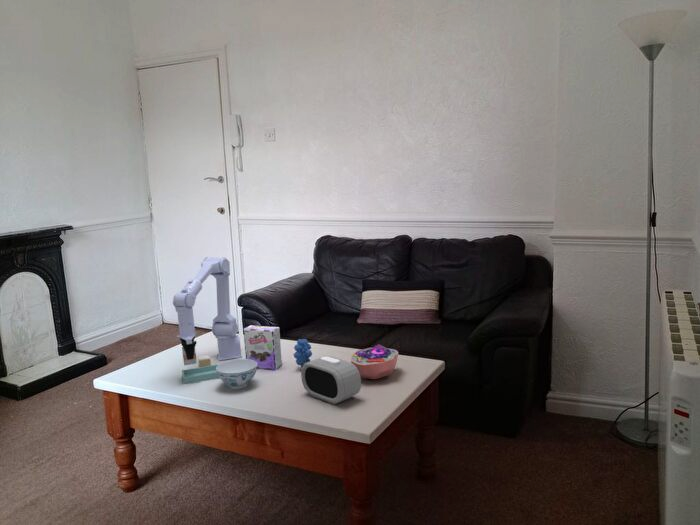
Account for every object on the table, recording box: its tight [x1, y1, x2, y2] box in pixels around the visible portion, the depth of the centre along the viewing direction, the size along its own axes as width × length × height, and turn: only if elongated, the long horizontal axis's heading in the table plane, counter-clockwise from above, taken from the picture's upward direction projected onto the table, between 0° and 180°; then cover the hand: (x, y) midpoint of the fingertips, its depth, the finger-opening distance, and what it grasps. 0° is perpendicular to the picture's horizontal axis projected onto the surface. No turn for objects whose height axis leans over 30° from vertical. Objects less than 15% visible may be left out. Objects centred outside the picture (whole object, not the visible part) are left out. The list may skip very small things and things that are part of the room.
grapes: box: [293, 338, 313, 368], centre depth 229 cm, size 12×7×12 cm, turn 155°
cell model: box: [350, 344, 399, 380], centre depth 215 cm, size 17×20×11 cm
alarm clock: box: [300, 355, 362, 405], centre depth 198 cm, size 21×10×13 cm, turn 45°
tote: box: [181, 363, 220, 385], centre depth 225 cm, size 15×9×2 cm, turn 110°
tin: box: [181, 346, 198, 366], centre depth 222 cm, size 5×5×6 cm
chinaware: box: [216, 358, 258, 390], centre depth 213 cm, size 15×15×8 cm
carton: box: [197, 354, 212, 368], centre depth 235 cm, size 5×5×5 cm
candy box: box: [242, 324, 283, 371], centre depth 232 cm, size 14×6×16 cm, turn 68°
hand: (189, 357), depth 222 cm, fingers closed on tin, 5 cm apart
